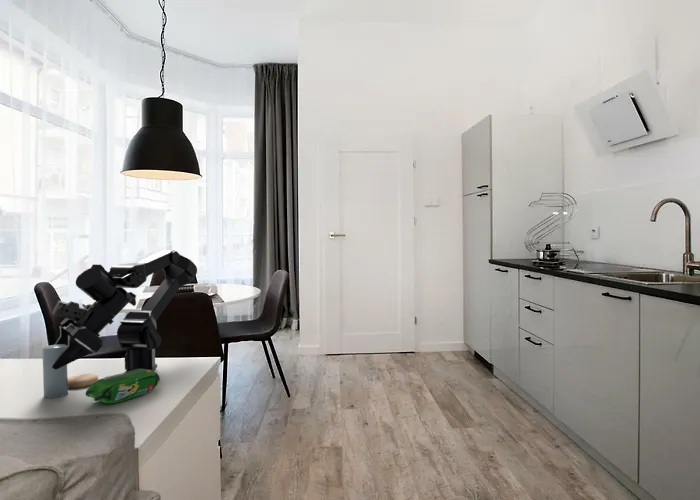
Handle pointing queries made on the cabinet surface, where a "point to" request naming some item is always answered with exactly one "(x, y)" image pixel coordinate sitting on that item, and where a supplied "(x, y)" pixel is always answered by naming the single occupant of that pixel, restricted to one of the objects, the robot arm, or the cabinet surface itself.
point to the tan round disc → (82, 380)
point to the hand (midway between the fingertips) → (50, 363)
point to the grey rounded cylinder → (54, 373)
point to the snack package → (123, 386)
